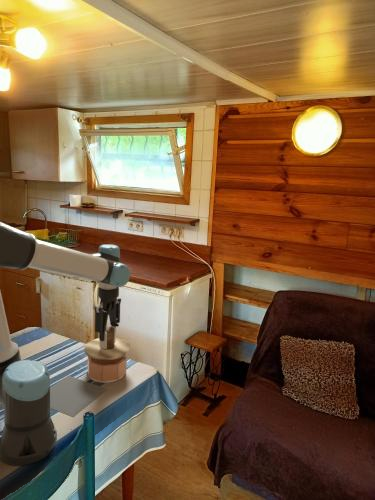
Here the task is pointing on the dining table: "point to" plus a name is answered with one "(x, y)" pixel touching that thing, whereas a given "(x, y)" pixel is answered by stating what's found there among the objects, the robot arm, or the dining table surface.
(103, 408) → the dining table surface
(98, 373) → the bowl
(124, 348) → the lid
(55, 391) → the mat
